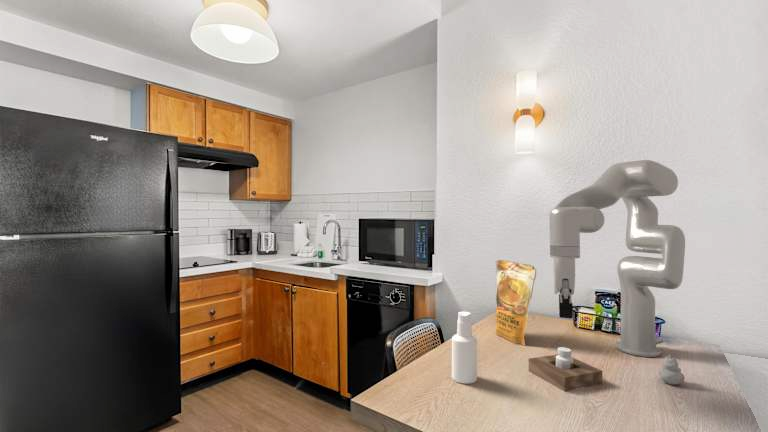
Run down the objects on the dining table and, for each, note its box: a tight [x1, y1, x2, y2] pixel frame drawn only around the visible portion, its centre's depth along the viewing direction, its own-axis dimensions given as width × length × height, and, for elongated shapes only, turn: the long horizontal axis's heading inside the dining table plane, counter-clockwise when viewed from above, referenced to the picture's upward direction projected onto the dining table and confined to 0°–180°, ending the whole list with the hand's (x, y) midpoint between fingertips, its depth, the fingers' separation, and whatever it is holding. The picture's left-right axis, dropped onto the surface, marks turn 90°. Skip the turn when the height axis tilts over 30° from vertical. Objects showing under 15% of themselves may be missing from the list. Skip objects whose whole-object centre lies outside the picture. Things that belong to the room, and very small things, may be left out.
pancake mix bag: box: [494, 259, 537, 346], centre depth 133 cm, size 7×19×28 cm, turn 20°
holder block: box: [528, 353, 603, 392], centre depth 100 cm, size 13×13×4 cm
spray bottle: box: [451, 311, 478, 385], centre depth 99 cm, size 7×7×18 cm
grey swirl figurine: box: [658, 354, 685, 386], centre depth 97 cm, size 5×7×8 cm
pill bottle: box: [556, 346, 574, 370], centre depth 101 cm, size 4×4×8 cm
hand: (565, 313), depth 101 cm, fingers open, 9 cm apart
